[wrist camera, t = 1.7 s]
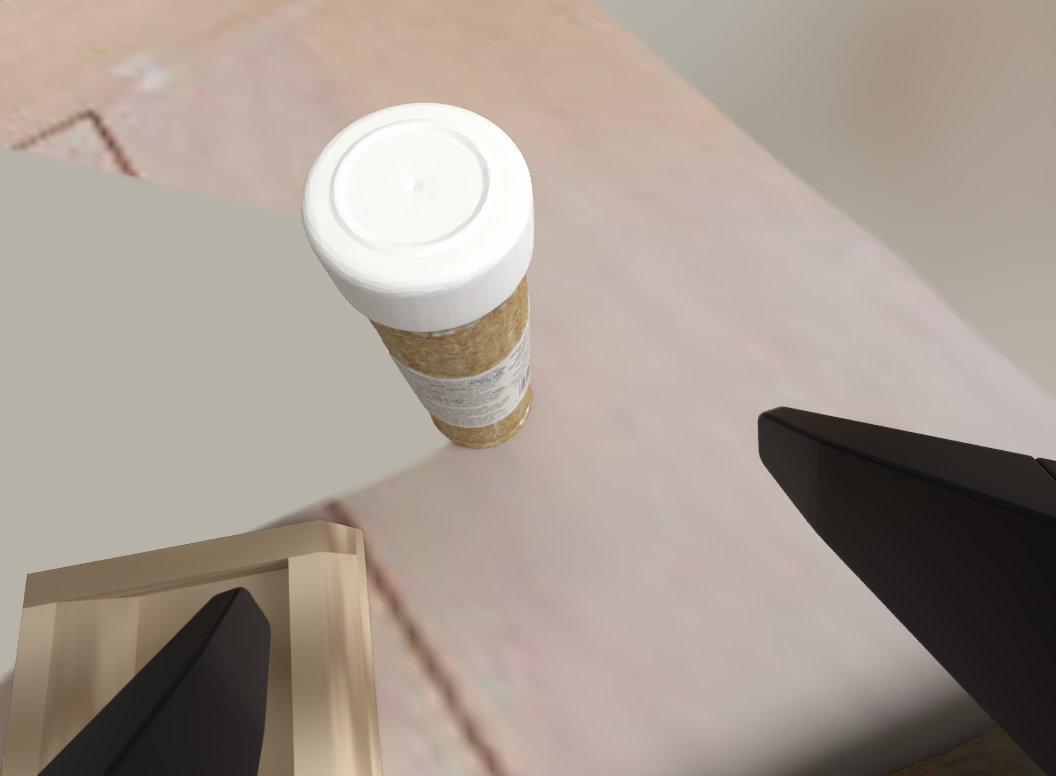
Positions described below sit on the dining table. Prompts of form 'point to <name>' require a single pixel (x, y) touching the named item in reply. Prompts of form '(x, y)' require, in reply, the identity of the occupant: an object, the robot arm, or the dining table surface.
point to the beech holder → (166, 607)
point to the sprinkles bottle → (434, 257)
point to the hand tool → (977, 759)
